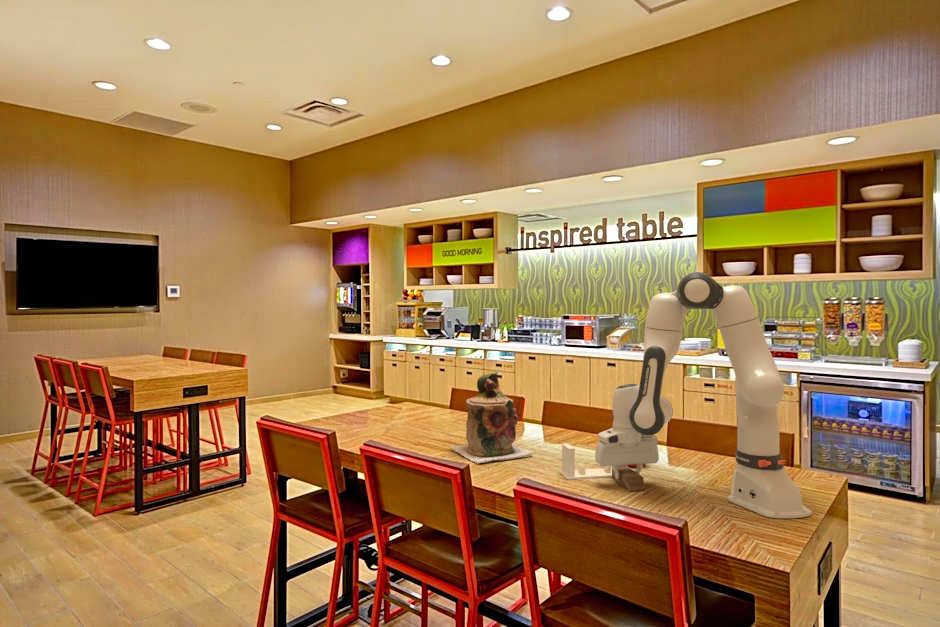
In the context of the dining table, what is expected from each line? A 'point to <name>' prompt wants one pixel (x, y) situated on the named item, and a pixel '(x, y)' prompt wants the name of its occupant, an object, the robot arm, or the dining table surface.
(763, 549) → the dining table surface
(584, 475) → the peg frame
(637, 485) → the brown rectangular bar
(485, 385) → the cookie jar
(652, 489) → the dining table surface
